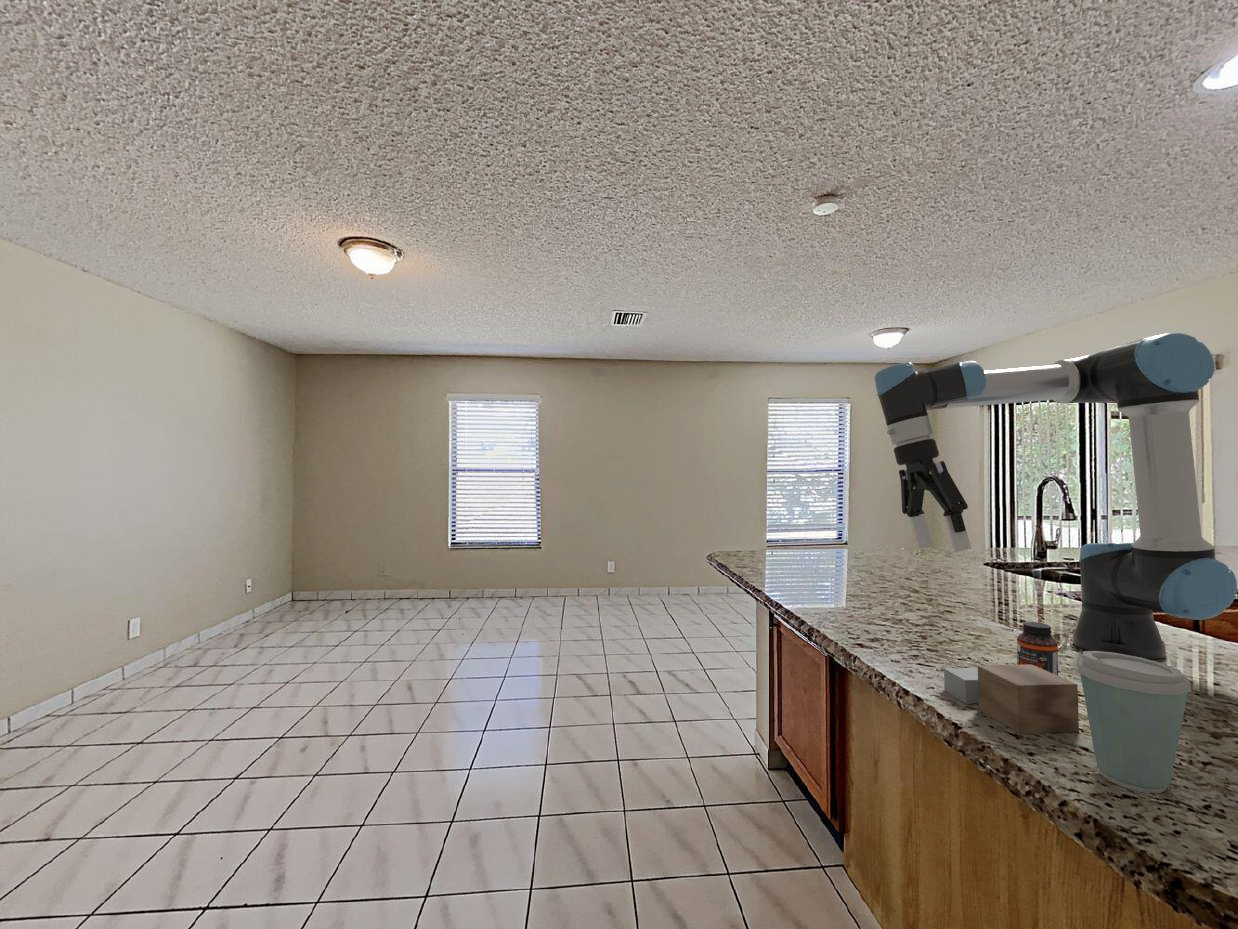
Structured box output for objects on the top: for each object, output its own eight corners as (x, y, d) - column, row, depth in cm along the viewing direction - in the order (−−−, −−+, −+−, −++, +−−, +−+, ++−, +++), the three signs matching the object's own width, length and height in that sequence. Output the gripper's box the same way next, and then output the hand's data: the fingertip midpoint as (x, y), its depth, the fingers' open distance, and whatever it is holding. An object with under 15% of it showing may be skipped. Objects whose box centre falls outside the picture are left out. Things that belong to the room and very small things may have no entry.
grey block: (977, 690, 101) (977, 667, 101) (1001, 703, 95) (1000, 679, 95) (944, 691, 101) (943, 668, 101) (965, 704, 95) (965, 680, 95)
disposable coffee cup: (1128, 757, 76) (1124, 644, 77) (1223, 802, 65) (1218, 671, 66) (1057, 763, 75) (1054, 648, 75) (1141, 810, 64) (1137, 676, 65)
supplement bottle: (1015, 688, 101) (1013, 624, 102) (1020, 679, 106) (1018, 618, 106) (1057, 697, 97) (1055, 630, 98) (1061, 687, 102) (1059, 623, 102)
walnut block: (1032, 707, 93) (1031, 664, 93) (1079, 732, 84) (1077, 684, 84) (978, 709, 93) (977, 665, 93) (1019, 733, 84) (1017, 685, 84)
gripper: (869, 454, 124) (895, 549, 122) (925, 436, 100) (959, 556, 97) (903, 446, 124) (930, 542, 122) (967, 427, 99) (1003, 546, 97)
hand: (943, 548), depth 109 cm, fingers open, 13 cm apart
